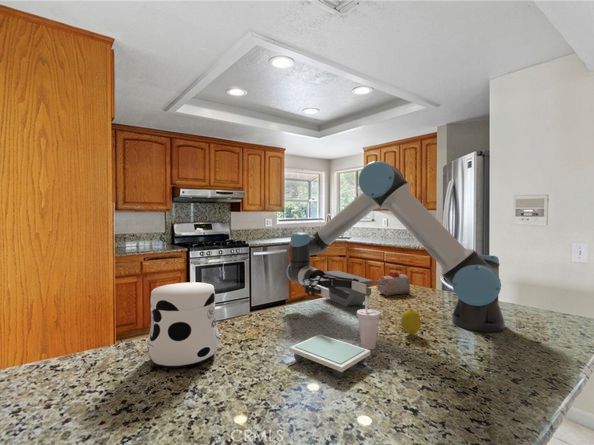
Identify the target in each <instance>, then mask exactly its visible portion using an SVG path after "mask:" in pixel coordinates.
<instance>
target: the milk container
mask: <svg viewBox="0 0 594 445" xmlns="http://www.w3.org/2000/svg"><path fill="white" fill-rule="evenodd" d="M215 298H216V292H215V286H214V285H213V284H211V283H207V282H196V281H195V282H189V281H188V282H179V283H178V282H177V283H170V284H164V285H161V286H157V287H155V288H153V289H152V290H151V292H150V329H149V334H148V337H147V341H146V342H147V344H146V345H147V346H146V347H147V354H148V356H149V359H150V361H151V362H152V363H154V364H155V365H157V366H159V367H162V368H168V369H172V368H173V369H175V368H178V369H179V368H186V367H191V366H195V365H198V364H202V363H203V362H205V361H207V360H209V359H211V358H212V357H213V356H214V355H215V354H216V352H217V350H218V347H219V343H220V341H219V340H220V332H219V327H218V324H217V321H216V301H215V300H216V299H215Z"/></svg>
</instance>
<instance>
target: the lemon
mask: <svg viewBox="0 0 594 445" xmlns="http://www.w3.org/2000/svg"><path fill="white" fill-rule="evenodd" d="M421 322H422V321H421V316H420V315H419V313H418V312H417V311H416V310H413V309H412V308H409V309H407V310H405V311H404V312H403V314H402V316H401V327H402V329H403V331H405V332H406V334H407V333H408V335H409V336H413V335H414V334H416V333H418V332H419V331H420V329H421Z"/></svg>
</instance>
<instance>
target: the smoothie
mask: <svg viewBox="0 0 594 445" xmlns="http://www.w3.org/2000/svg"><path fill="white" fill-rule="evenodd" d="M364 305H365V306H364V307H365V308H361V309H358V310H357V311H356V316H357V320H358V327H359V338H360V345H361V348H364V349H367V350H373V349H375V348H376V345H377V344H376V343H377V337H378V336H377V335H378V329H379V320H380V318H381V312H380V311H379V310H377V309H373V308H368V298H367V296H365V301H364Z"/></svg>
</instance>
